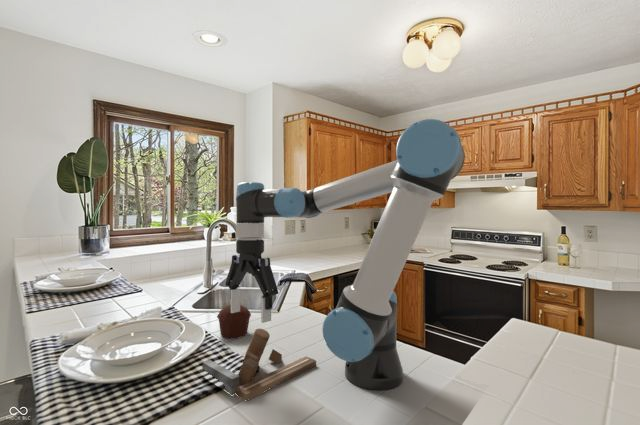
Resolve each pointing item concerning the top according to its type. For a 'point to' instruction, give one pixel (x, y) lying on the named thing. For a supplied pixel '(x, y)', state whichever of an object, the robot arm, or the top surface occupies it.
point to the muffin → (233, 322)
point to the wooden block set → (256, 356)
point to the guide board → (260, 383)
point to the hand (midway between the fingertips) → (250, 316)
